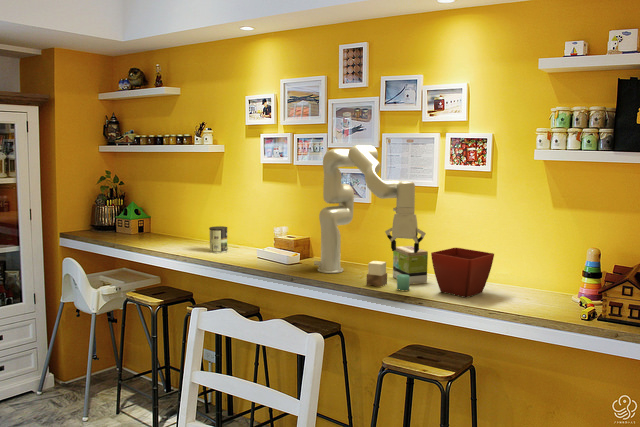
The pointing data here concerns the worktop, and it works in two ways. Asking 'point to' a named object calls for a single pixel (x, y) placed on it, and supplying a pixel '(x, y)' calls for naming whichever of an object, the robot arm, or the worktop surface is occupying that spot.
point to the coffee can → (218, 239)
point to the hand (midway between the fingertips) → (404, 251)
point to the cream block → (377, 268)
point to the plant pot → (462, 270)
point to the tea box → (410, 264)
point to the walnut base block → (376, 280)
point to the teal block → (403, 282)
